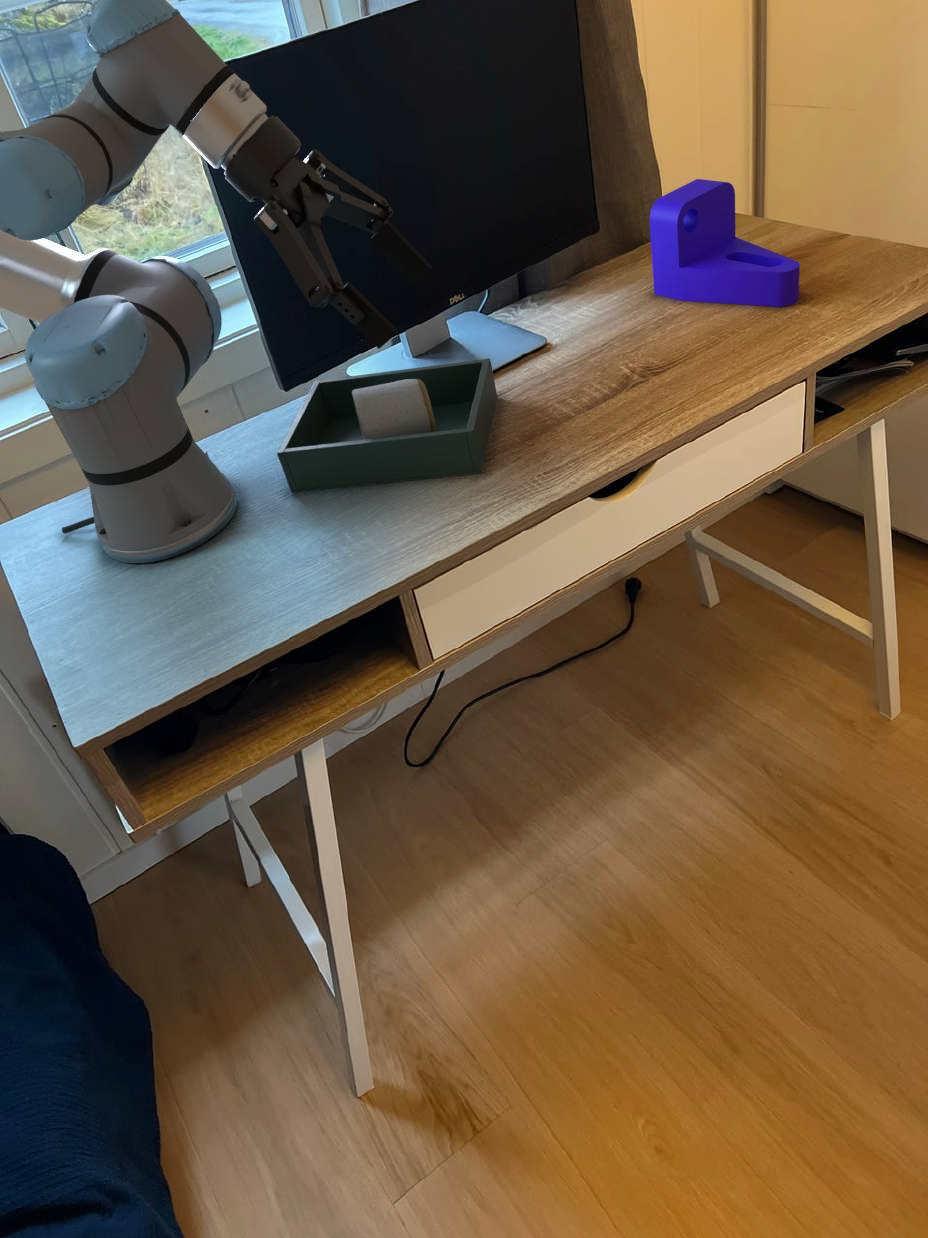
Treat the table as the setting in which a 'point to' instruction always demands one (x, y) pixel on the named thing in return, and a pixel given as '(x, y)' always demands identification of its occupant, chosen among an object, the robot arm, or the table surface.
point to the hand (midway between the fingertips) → (406, 306)
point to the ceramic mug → (394, 409)
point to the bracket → (714, 252)
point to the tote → (339, 456)
